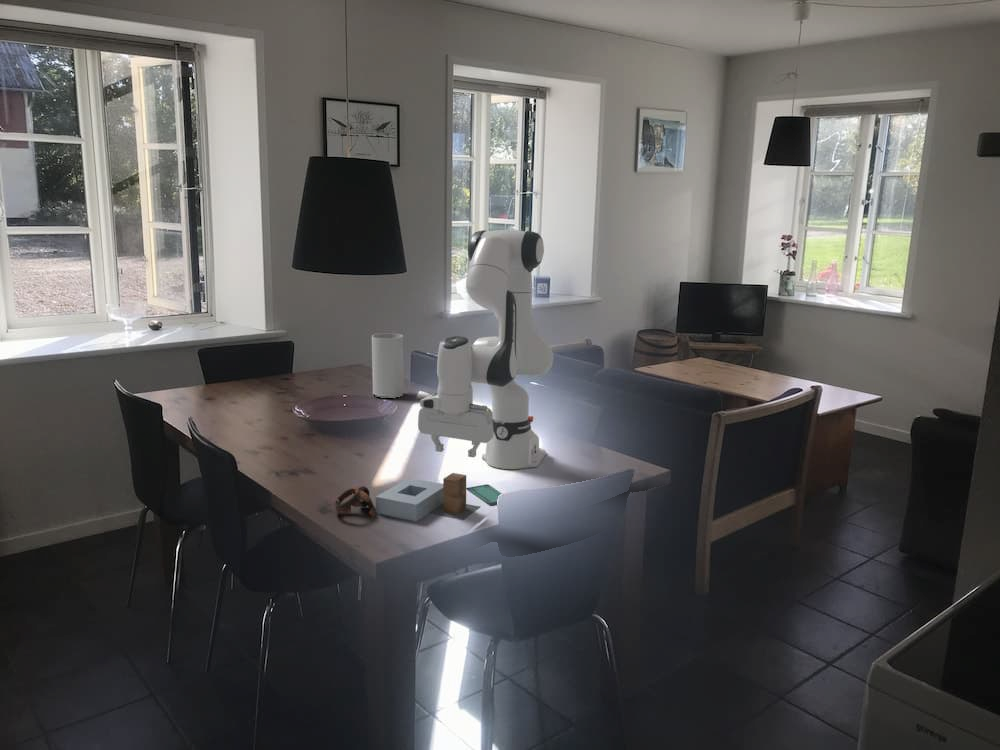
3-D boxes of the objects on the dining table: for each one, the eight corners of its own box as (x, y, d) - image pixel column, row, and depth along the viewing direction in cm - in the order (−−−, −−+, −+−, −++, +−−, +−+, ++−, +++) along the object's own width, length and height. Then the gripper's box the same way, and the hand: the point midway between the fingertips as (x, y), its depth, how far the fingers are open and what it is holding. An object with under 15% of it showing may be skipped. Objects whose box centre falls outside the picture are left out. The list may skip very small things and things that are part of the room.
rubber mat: (447, 502, 213) (447, 500, 213) (480, 508, 209) (480, 506, 209) (428, 515, 204) (428, 513, 204) (463, 522, 200) (463, 520, 200)
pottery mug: (373, 525, 199) (356, 500, 196) (343, 537, 202) (325, 512, 199) (385, 497, 210) (369, 473, 207) (356, 508, 212) (339, 485, 210)
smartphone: (490, 505, 209) (465, 487, 222) (490, 510, 209) (465, 491, 222) (515, 501, 213) (488, 483, 225) (514, 505, 213) (488, 487, 226)
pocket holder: (409, 495, 218) (408, 477, 217) (447, 502, 213) (447, 484, 212) (376, 515, 204) (375, 496, 203) (416, 523, 199) (416, 504, 198)
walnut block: (452, 505, 210) (452, 472, 208) (466, 507, 208) (466, 475, 206) (443, 511, 205) (443, 478, 203) (457, 514, 204) (457, 481, 202)
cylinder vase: (370, 399, 322) (368, 338, 317) (376, 391, 334) (374, 333, 329) (401, 399, 322) (400, 338, 317) (405, 392, 334) (404, 333, 329)
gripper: (497, 403, 199) (497, 456, 202) (426, 394, 207) (427, 444, 211) (486, 410, 193) (486, 463, 197) (414, 400, 202) (415, 451, 205)
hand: (455, 453), depth 204 cm, fingers open, 8 cm apart
